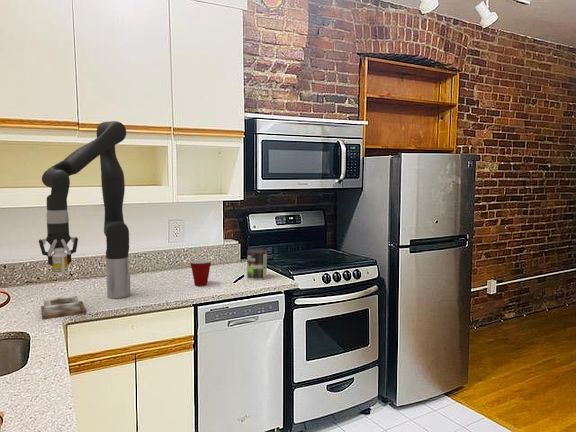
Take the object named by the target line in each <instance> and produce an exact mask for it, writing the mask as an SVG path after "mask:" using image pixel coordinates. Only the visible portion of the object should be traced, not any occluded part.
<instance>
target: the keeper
mask: <svg viewBox="0 0 576 432" xmlns="http://www.w3.org/2000/svg"><path fill="white" fill-rule="evenodd" d="M40 311H41V319H42V320H47V319H55V318H56V319H57V318H62V317H63V318H64V317H69V316H70V317H71V316H77V315H85V314H87V309H86V307H85V304H84V302H83V300H79V298H78V296H77V295H70V296H61V297H55V298H54V297H53V298H47V299H45V298H44V299H43V305H41V306H40Z"/></svg>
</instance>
